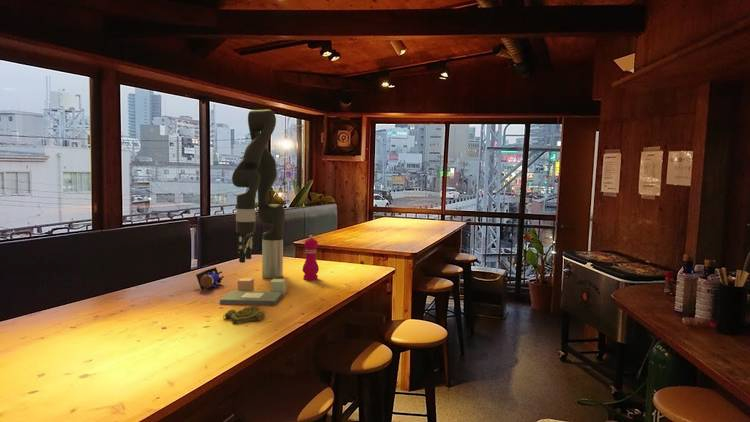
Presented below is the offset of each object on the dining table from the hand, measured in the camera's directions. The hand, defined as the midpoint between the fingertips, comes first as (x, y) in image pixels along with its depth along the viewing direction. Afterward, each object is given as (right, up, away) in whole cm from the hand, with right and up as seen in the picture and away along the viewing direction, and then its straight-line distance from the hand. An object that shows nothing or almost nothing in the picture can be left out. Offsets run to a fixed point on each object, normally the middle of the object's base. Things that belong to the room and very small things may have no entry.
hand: (245, 260), depth 196 cm
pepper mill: (+22, -11, +27) cm, 37 cm away
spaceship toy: (+9, -16, -32) cm, 37 cm away
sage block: (+13, -13, +1) cm, 18 cm away
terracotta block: (0, -13, +1) cm, 13 cm away
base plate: (+6, -14, -11) cm, 18 cm away
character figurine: (-16, -12, +7) cm, 21 cm away
